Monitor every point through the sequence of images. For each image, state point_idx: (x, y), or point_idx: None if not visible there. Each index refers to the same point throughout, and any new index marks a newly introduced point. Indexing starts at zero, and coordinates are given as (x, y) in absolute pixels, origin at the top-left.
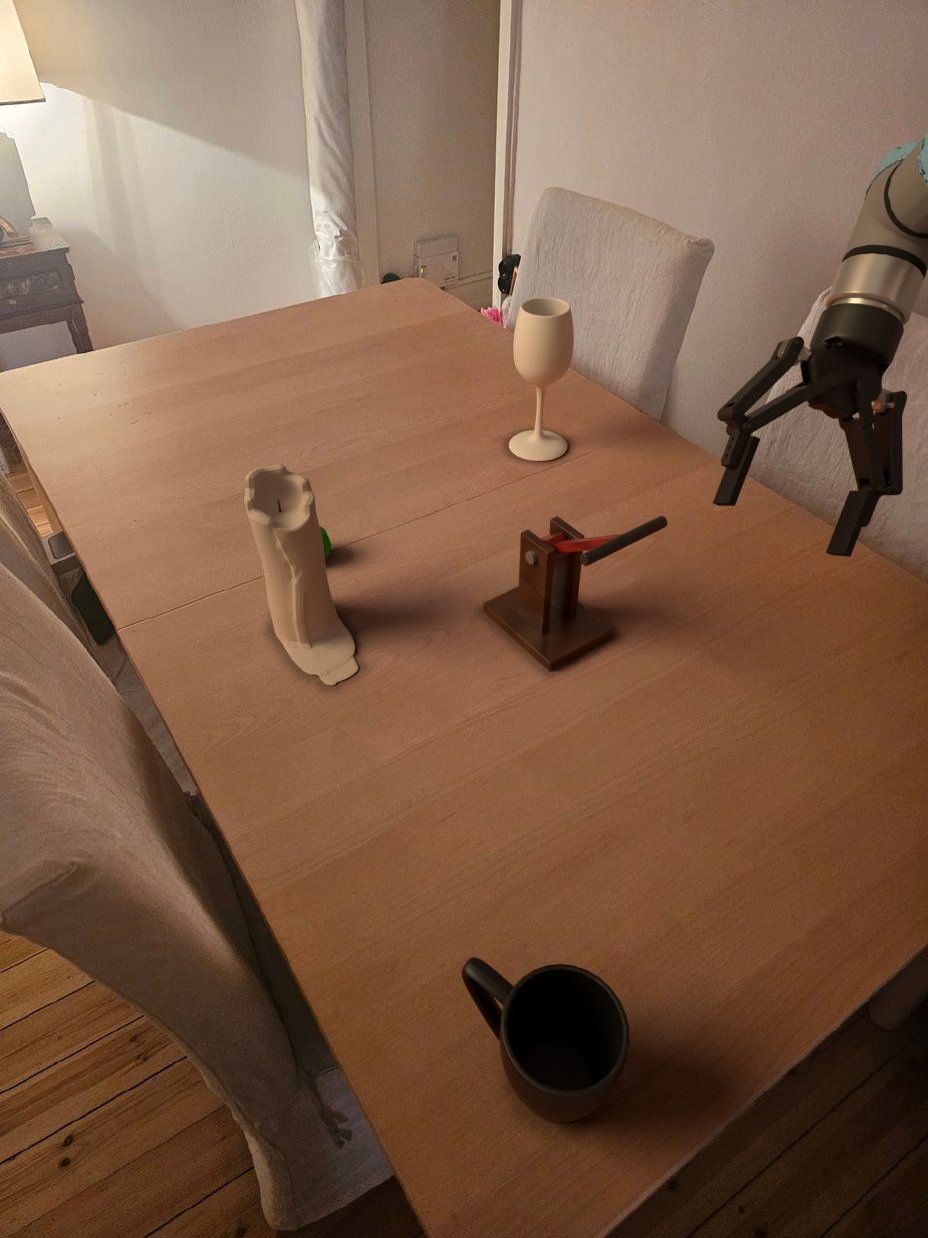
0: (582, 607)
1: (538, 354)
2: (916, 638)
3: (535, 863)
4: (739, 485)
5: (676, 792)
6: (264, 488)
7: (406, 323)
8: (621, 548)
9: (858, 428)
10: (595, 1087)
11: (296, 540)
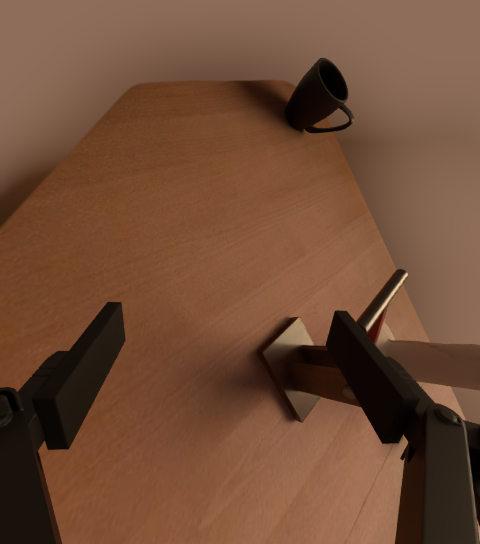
0: (279, 379)
1: None
2: None
3: (299, 194)
4: (354, 328)
5: (238, 211)
6: None
7: None
8: (382, 289)
9: None
10: (326, 59)
11: (475, 347)
